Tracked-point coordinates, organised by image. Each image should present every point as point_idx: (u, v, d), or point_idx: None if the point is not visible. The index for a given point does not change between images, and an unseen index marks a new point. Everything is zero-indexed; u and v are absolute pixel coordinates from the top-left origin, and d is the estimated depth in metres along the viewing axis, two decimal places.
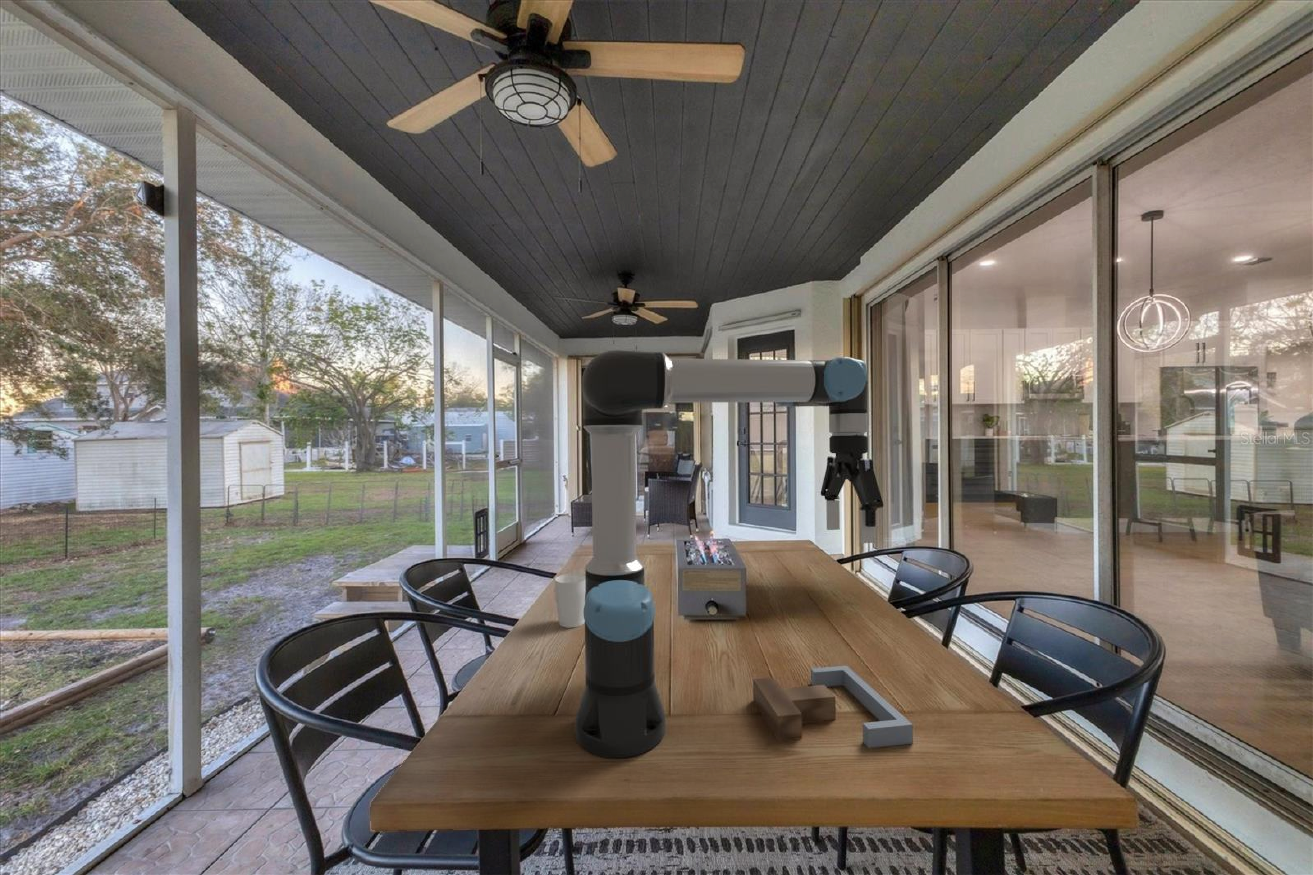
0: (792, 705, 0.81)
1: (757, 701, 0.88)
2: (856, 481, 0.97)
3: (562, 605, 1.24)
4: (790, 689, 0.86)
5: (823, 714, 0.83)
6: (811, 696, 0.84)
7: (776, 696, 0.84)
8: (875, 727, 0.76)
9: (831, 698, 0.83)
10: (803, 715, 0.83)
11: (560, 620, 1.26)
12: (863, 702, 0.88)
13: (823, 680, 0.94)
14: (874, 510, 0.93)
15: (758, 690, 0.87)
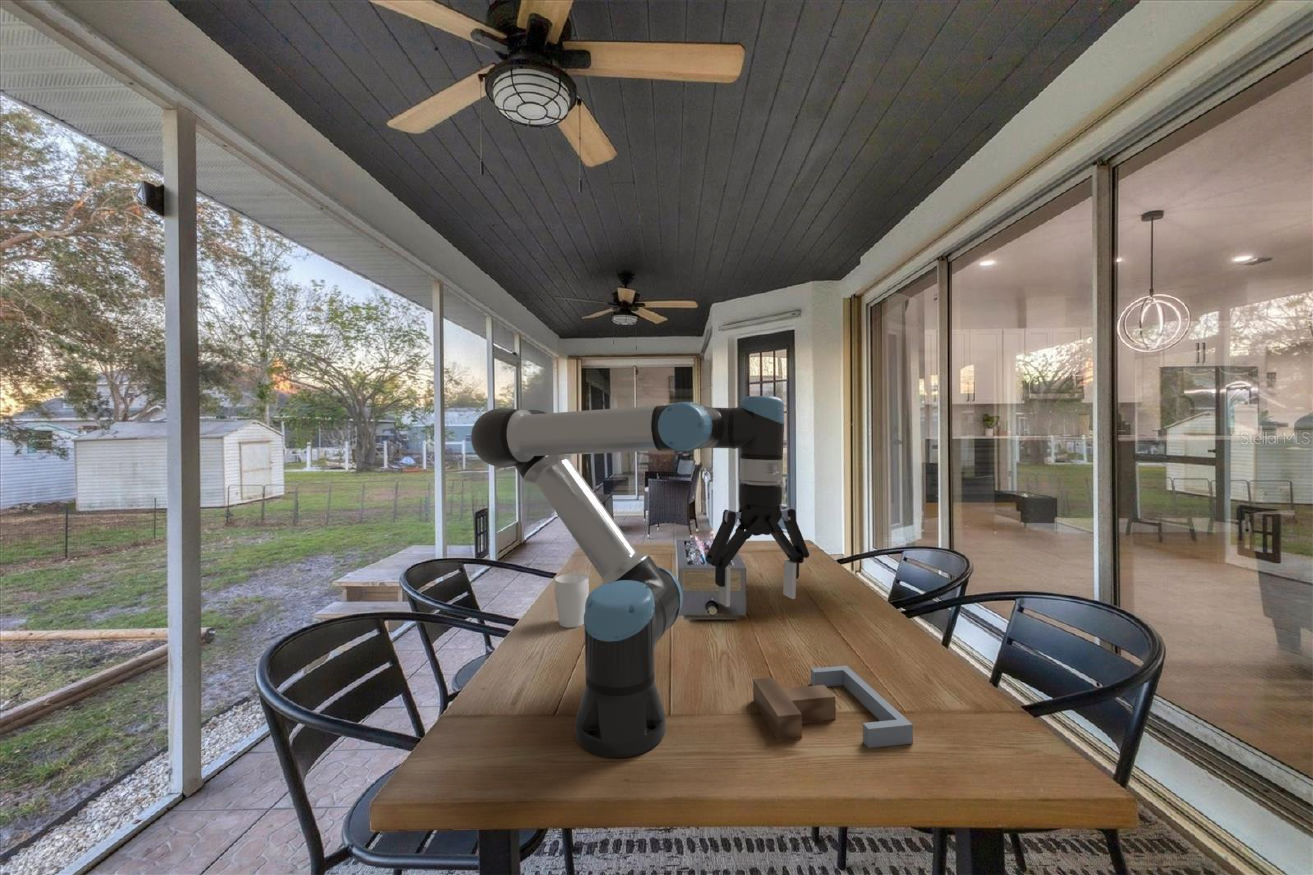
0: (792, 705, 0.81)
1: (757, 701, 0.88)
2: (734, 535, 0.86)
3: (562, 605, 1.24)
4: (790, 689, 0.86)
5: (823, 714, 0.83)
6: (811, 696, 0.84)
7: (776, 696, 0.84)
8: (875, 727, 0.76)
9: (831, 698, 0.83)
10: (803, 715, 0.83)
11: (560, 620, 1.26)
12: (863, 702, 0.88)
13: (823, 680, 0.94)
14: (717, 568, 0.83)
15: (758, 690, 0.87)
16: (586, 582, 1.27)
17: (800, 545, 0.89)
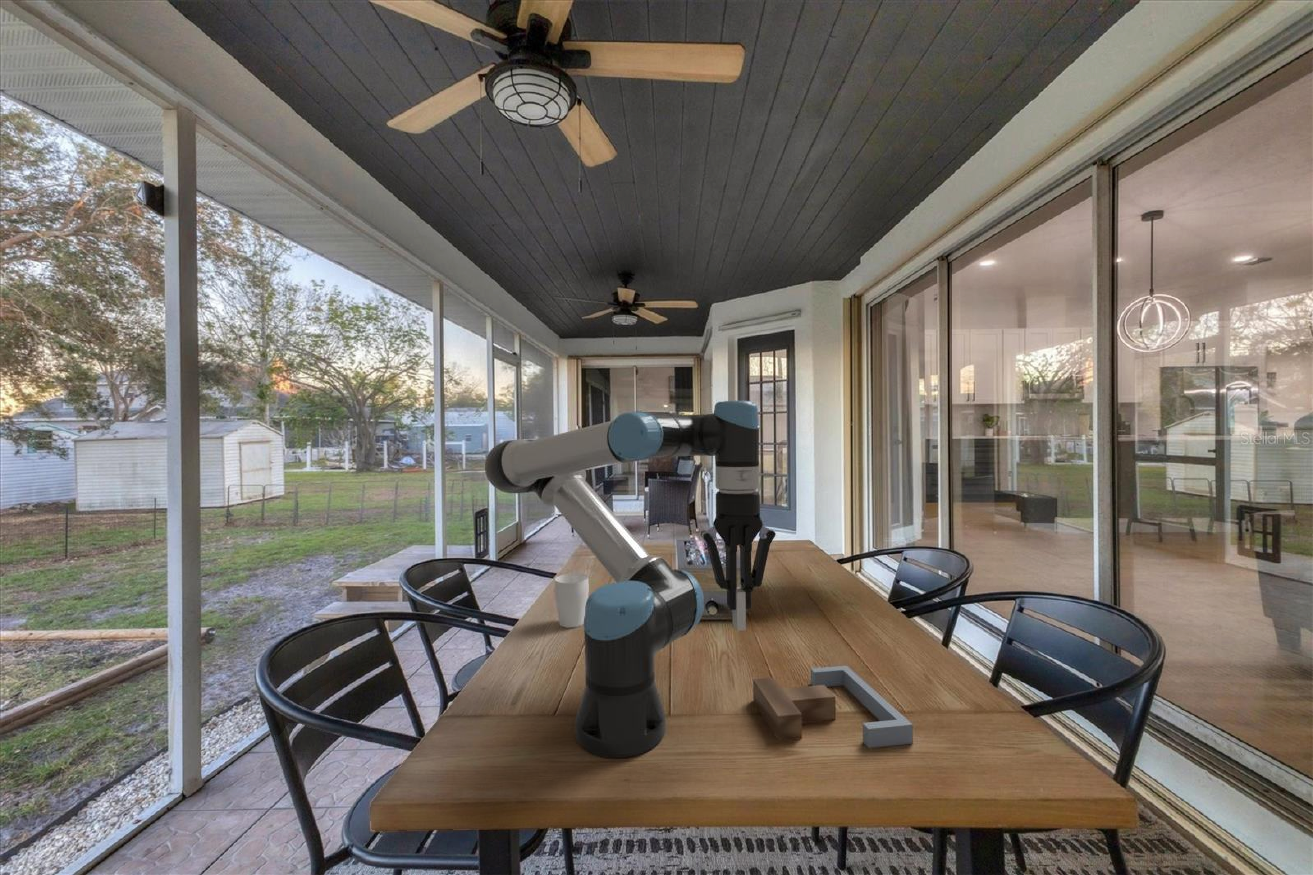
0: (792, 705, 0.81)
1: (757, 701, 0.88)
2: (726, 552, 0.84)
3: (562, 605, 1.24)
4: (790, 689, 0.86)
5: (823, 714, 0.83)
6: (811, 696, 0.84)
7: (776, 696, 0.84)
8: (875, 727, 0.76)
9: (831, 698, 0.83)
10: (803, 715, 0.83)
11: (560, 620, 1.26)
12: (863, 702, 0.88)
13: (823, 680, 0.94)
14: (728, 591, 0.82)
15: (758, 690, 0.87)
16: (586, 582, 1.27)
17: (758, 569, 0.82)
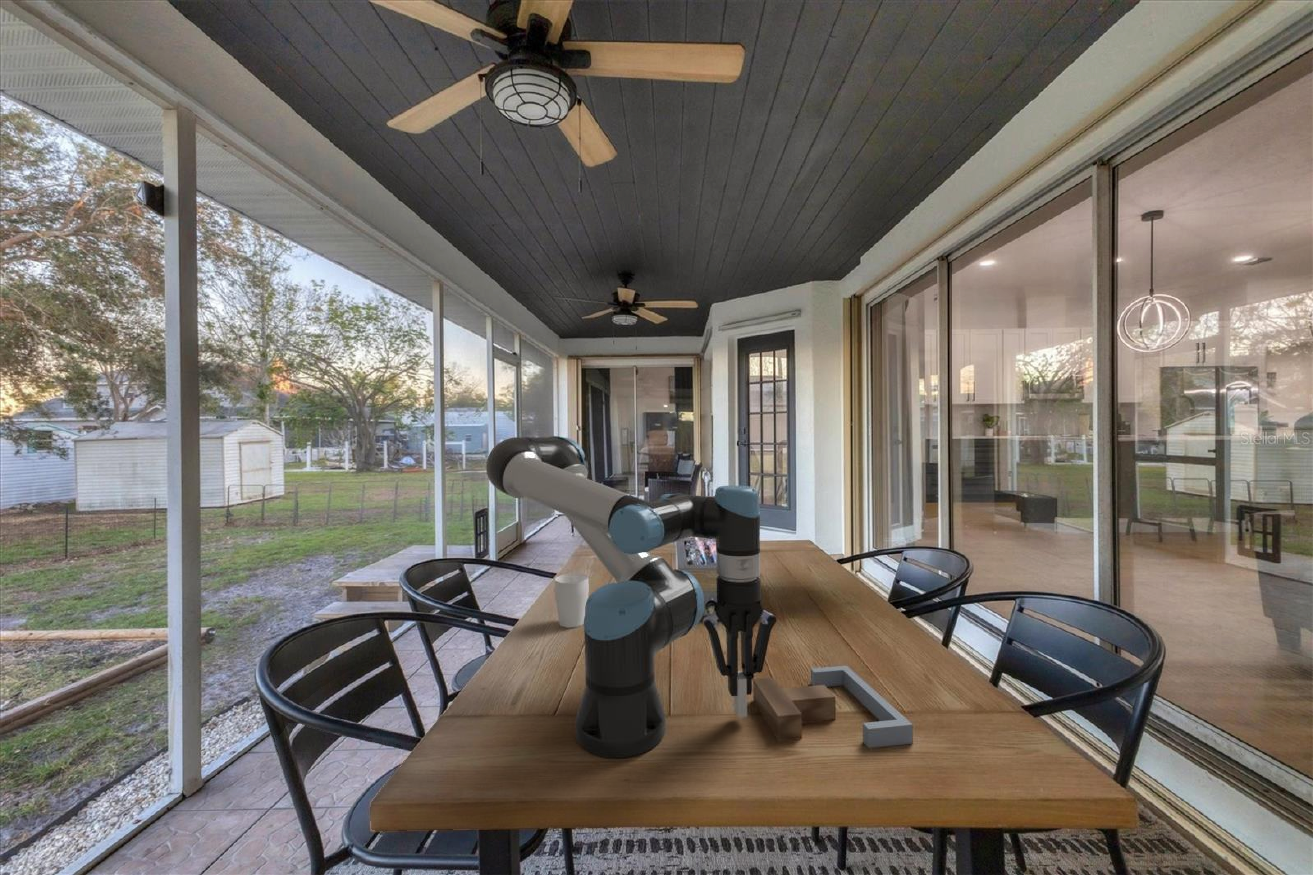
0: (792, 705, 0.81)
1: (757, 701, 0.88)
2: (727, 637, 0.84)
3: (562, 605, 1.24)
4: (790, 689, 0.86)
5: (823, 714, 0.83)
6: (811, 696, 0.84)
7: (776, 696, 0.84)
8: (875, 727, 0.76)
9: (831, 698, 0.83)
10: (803, 715, 0.83)
11: (560, 620, 1.26)
12: (863, 702, 0.88)
13: (823, 680, 0.94)
14: (729, 677, 0.82)
15: (758, 690, 0.87)
16: (586, 582, 1.27)
17: (759, 655, 0.82)
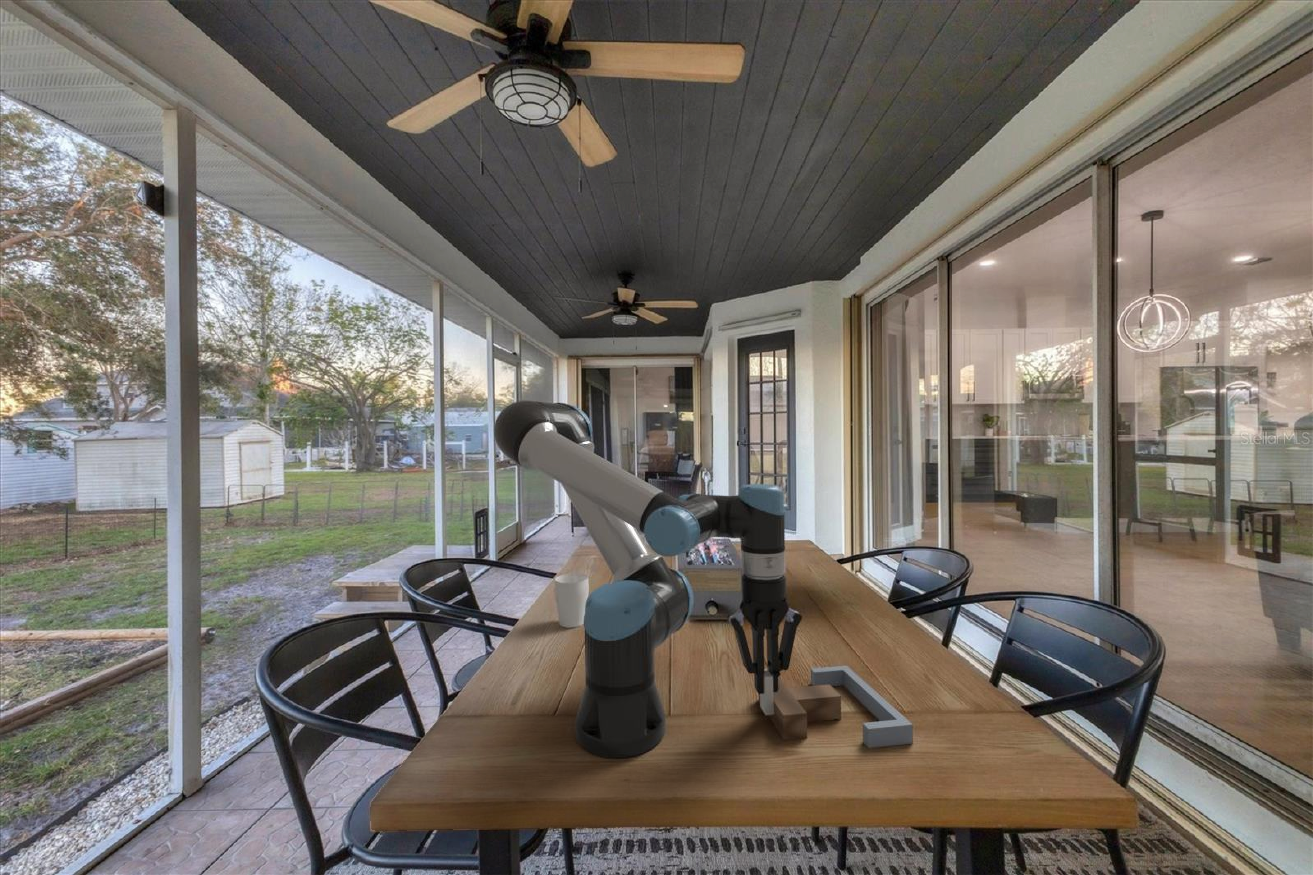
0: (797, 704, 0.81)
1: None
2: (752, 635, 0.84)
3: (562, 605, 1.24)
4: (795, 688, 0.86)
5: (828, 714, 0.83)
6: (816, 695, 0.84)
7: (781, 695, 0.84)
8: (875, 727, 0.76)
9: (836, 698, 0.83)
10: (808, 714, 0.83)
11: (560, 620, 1.26)
12: (863, 702, 0.88)
13: (823, 680, 0.94)
14: (755, 674, 0.83)
15: None
16: (586, 582, 1.27)
17: (785, 653, 0.83)
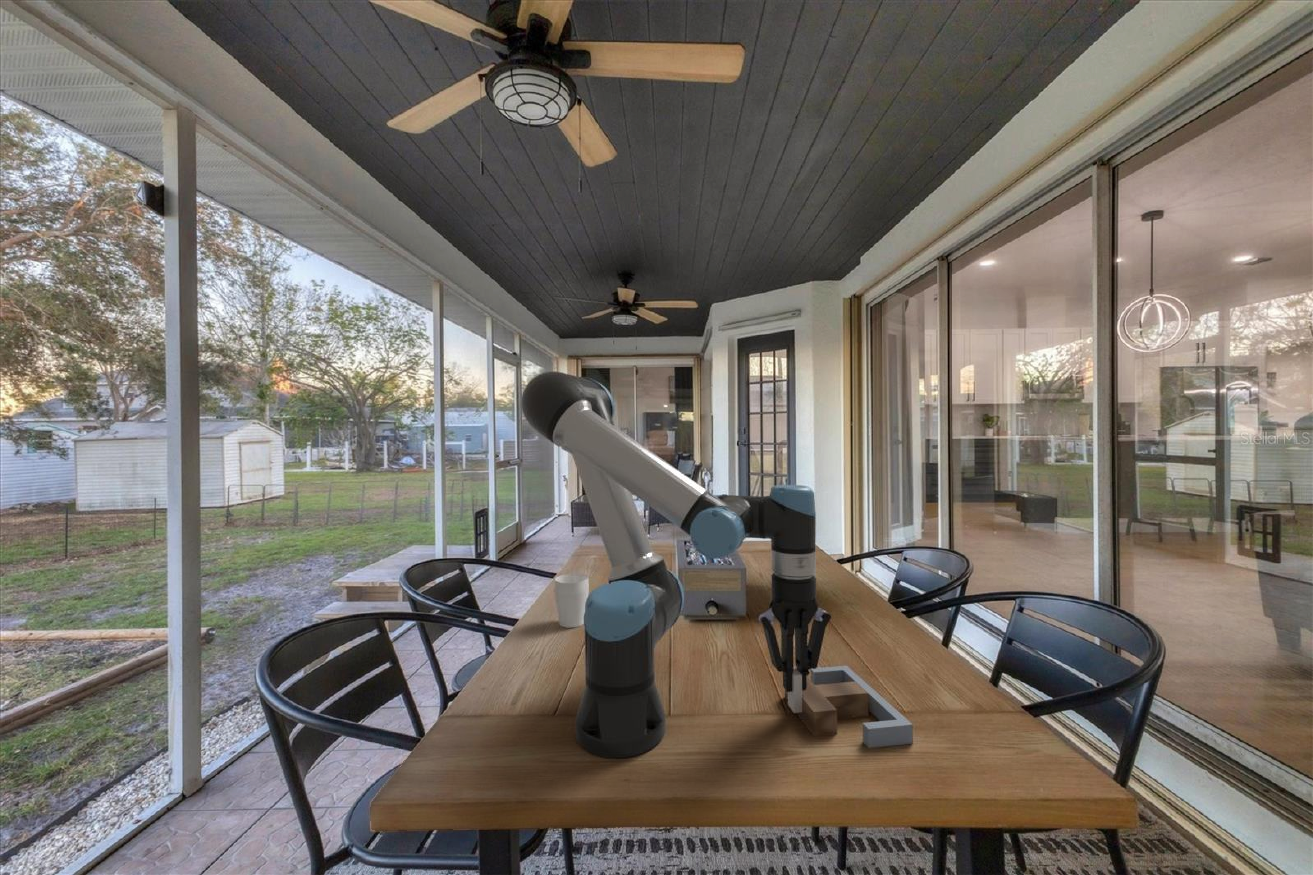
0: (826, 701, 0.82)
1: None
2: (781, 634, 0.85)
3: (562, 605, 1.24)
4: (822, 686, 0.87)
5: (856, 710, 0.84)
6: (844, 692, 0.85)
7: (809, 693, 0.85)
8: (875, 727, 0.76)
9: (864, 694, 0.84)
10: (836, 711, 0.84)
11: (560, 620, 1.26)
12: None
13: (823, 680, 0.94)
14: (784, 673, 0.84)
15: None
16: (586, 582, 1.27)
17: (814, 652, 0.84)
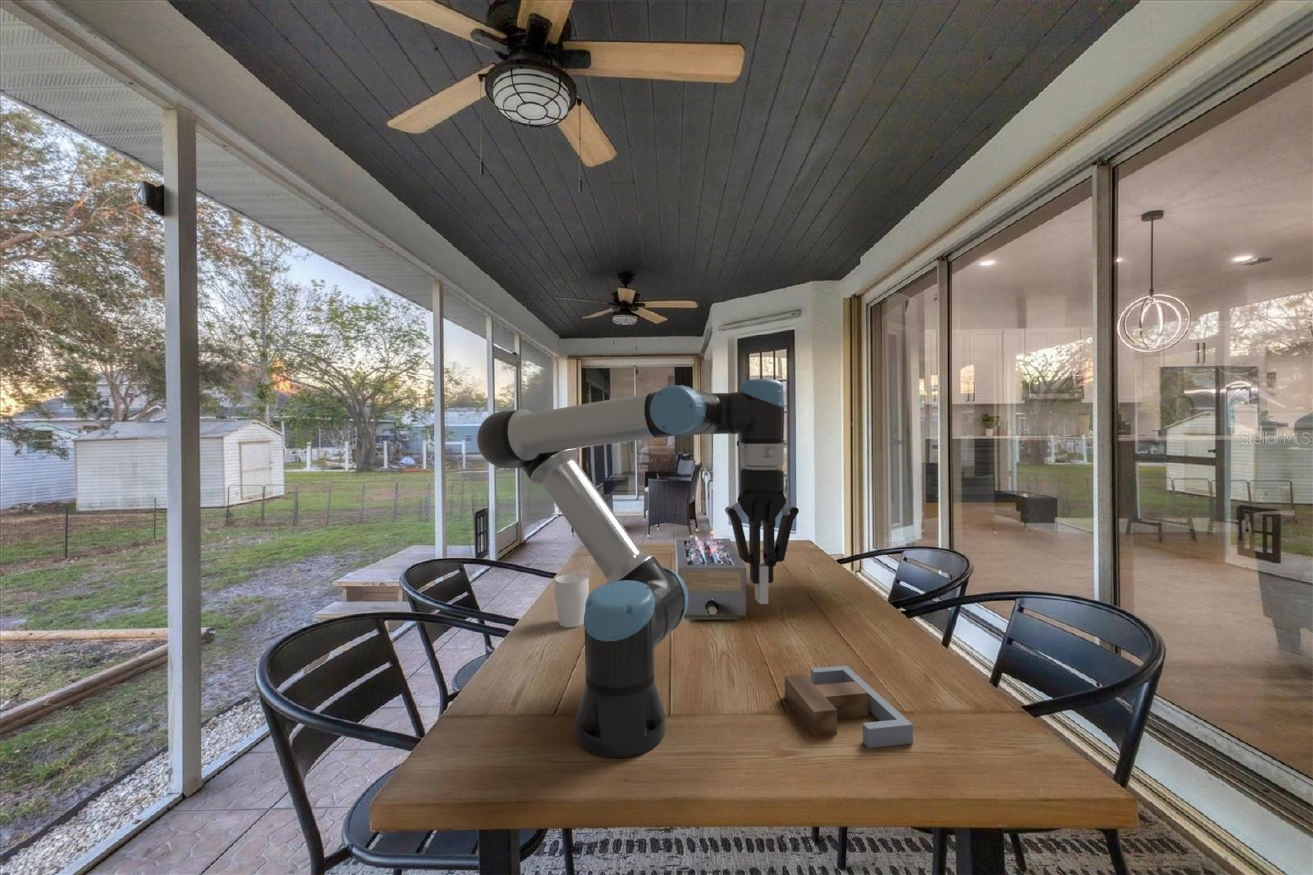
0: (826, 701, 0.82)
1: (789, 698, 0.89)
2: (749, 528, 0.86)
3: (562, 605, 1.24)
4: (822, 686, 0.87)
5: (856, 710, 0.84)
6: (844, 692, 0.85)
7: (809, 693, 0.85)
8: (875, 727, 0.76)
9: (864, 694, 0.84)
10: (836, 711, 0.84)
11: (560, 620, 1.26)
12: None
13: (823, 680, 0.94)
14: (751, 565, 0.84)
15: (790, 687, 0.88)
16: (586, 582, 1.27)
17: (781, 545, 0.84)
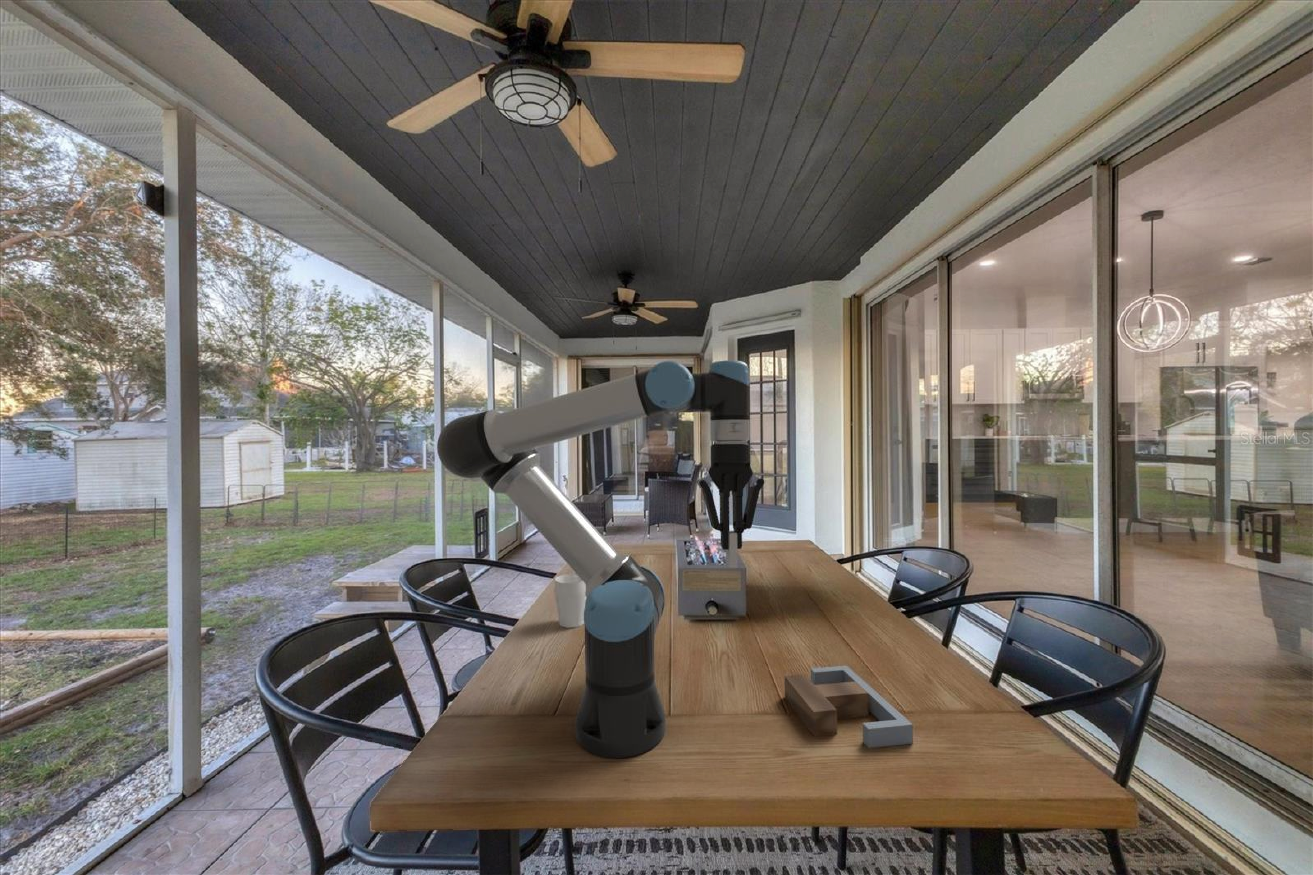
0: (826, 701, 0.82)
1: (789, 698, 0.89)
2: (720, 499, 0.93)
3: (562, 605, 1.24)
4: (822, 686, 0.87)
5: (856, 710, 0.84)
6: (844, 692, 0.85)
7: (809, 693, 0.85)
8: (875, 727, 0.76)
9: (864, 694, 0.84)
10: (836, 711, 0.84)
11: (560, 620, 1.26)
12: None
13: (823, 680, 0.94)
14: (721, 532, 0.92)
15: (790, 687, 0.88)
16: None
17: (749, 513, 0.92)
